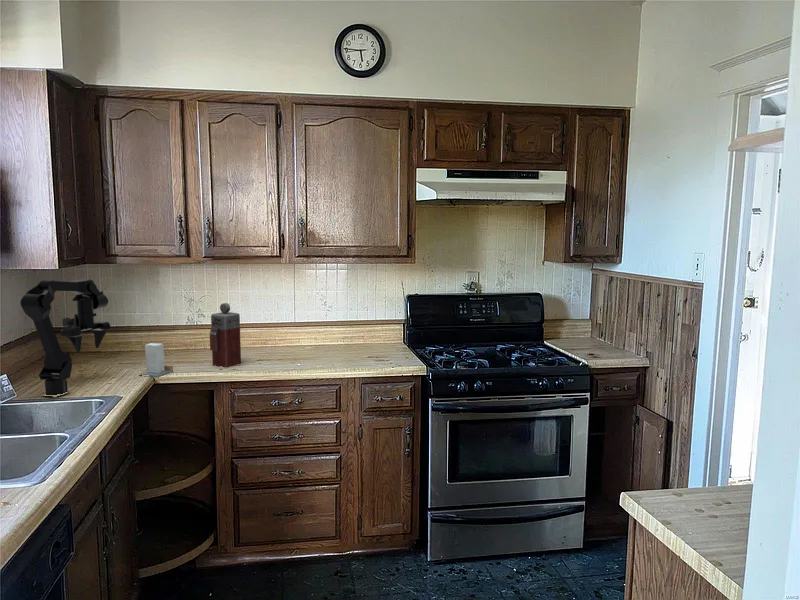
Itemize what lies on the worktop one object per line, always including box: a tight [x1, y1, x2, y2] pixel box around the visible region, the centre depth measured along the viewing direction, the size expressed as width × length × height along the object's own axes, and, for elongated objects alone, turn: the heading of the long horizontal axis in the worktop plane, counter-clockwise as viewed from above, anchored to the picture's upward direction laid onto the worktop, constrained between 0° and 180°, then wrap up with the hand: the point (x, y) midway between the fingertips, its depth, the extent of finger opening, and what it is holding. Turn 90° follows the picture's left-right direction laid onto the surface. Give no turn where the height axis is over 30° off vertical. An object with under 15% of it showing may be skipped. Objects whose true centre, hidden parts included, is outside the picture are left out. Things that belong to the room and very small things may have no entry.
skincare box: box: [144, 342, 165, 373], centre depth 241 cm, size 6×4×12 cm
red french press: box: [209, 302, 242, 368], centre depth 256 cm, size 9×11×28 cm
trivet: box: [139, 364, 174, 379], centre depth 242 cm, size 10×9×3 cm
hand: (87, 350), depth 227 cm, fingers open, 9 cm apart
